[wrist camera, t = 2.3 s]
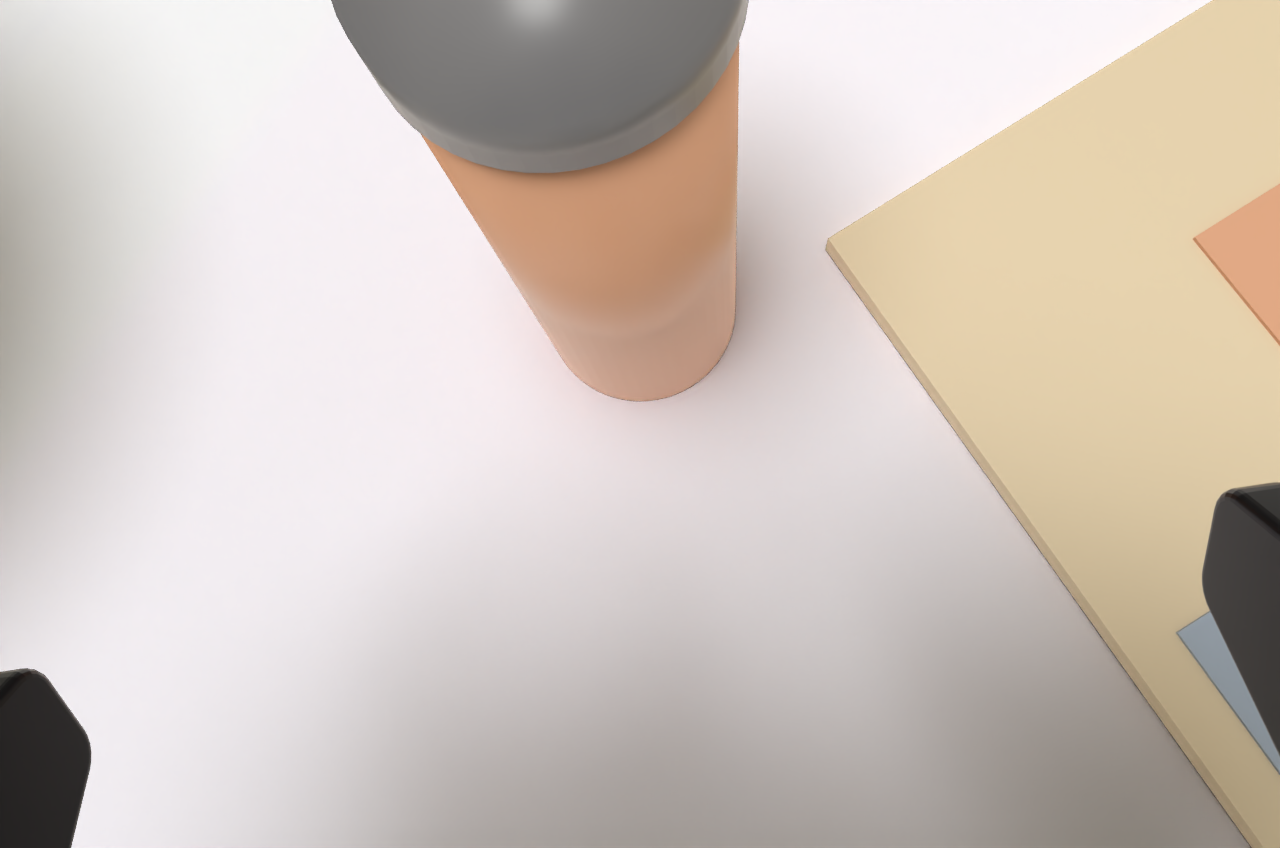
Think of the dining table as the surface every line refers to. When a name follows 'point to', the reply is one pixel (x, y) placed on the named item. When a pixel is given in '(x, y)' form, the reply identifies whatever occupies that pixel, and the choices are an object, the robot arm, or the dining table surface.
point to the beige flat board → (1117, 348)
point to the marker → (585, 163)
